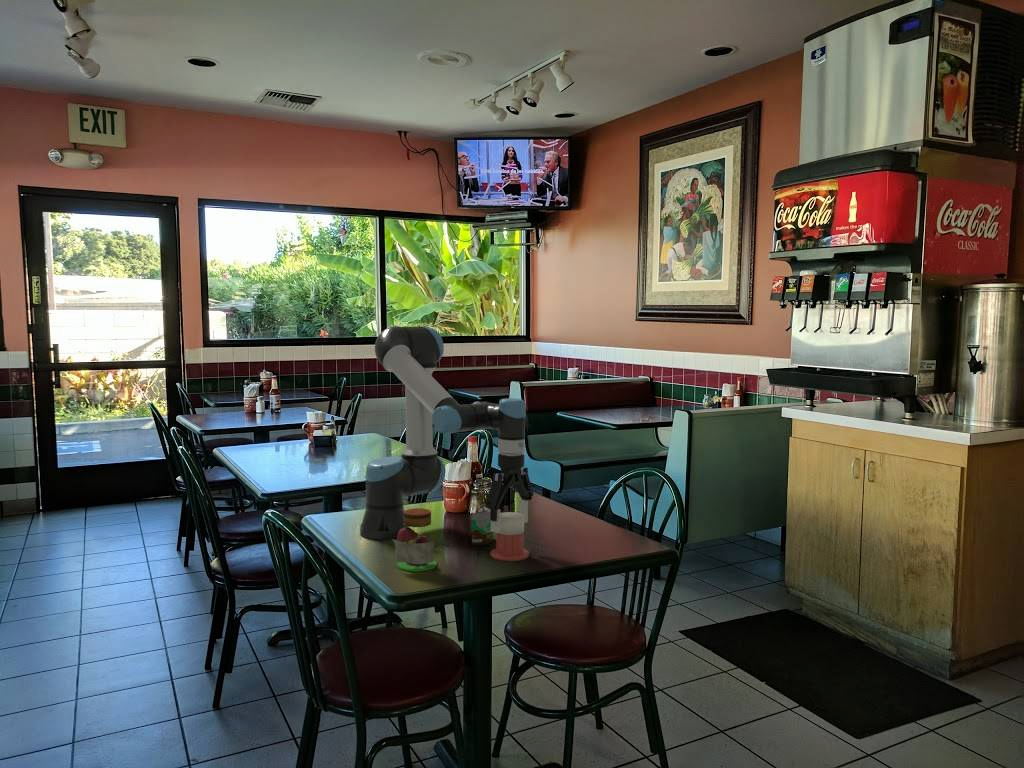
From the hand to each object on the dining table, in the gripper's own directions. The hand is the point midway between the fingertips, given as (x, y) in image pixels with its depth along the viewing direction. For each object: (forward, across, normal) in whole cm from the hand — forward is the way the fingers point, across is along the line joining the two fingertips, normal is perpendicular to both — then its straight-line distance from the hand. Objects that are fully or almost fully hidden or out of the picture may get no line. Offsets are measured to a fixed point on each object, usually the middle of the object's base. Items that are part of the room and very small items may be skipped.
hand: (509, 526), depth 214 cm
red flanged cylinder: (+8, 0, 0) cm, 8 cm away
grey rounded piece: (+4, 0, 0) cm, 4 cm away
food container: (+9, +7, +14) cm, 18 cm away
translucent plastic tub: (+9, -24, +14) cm, 29 cm away
